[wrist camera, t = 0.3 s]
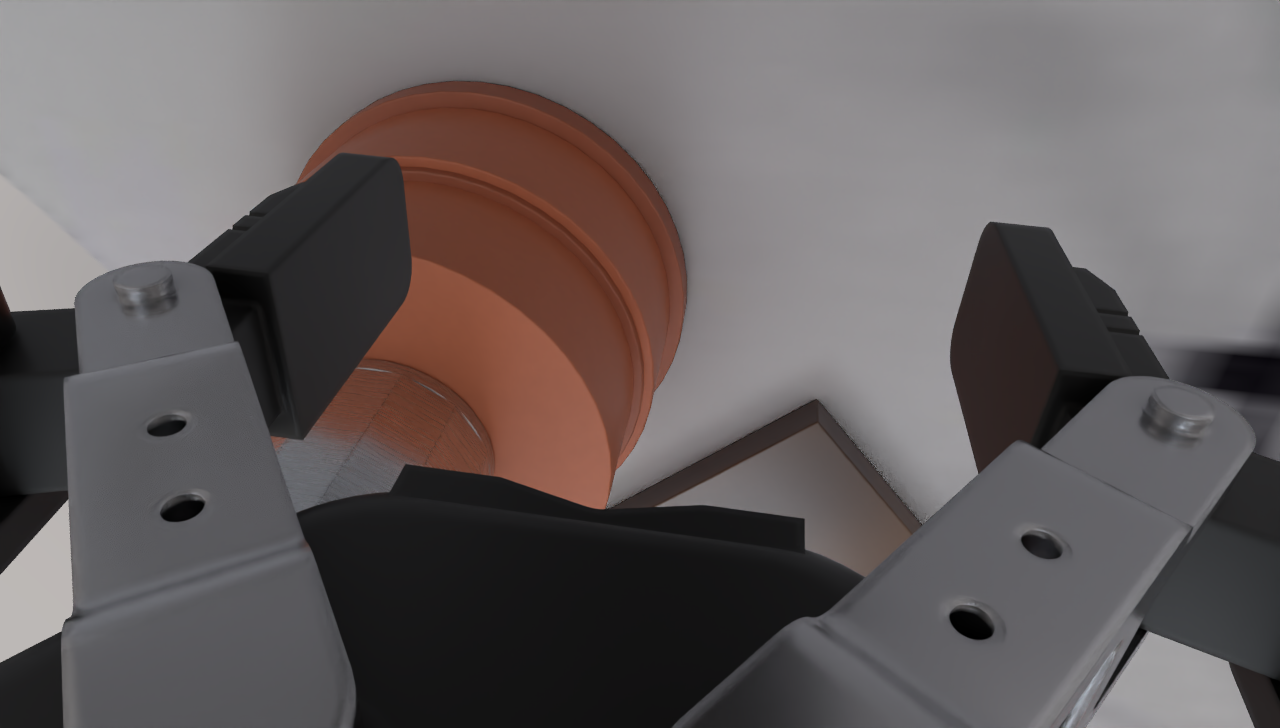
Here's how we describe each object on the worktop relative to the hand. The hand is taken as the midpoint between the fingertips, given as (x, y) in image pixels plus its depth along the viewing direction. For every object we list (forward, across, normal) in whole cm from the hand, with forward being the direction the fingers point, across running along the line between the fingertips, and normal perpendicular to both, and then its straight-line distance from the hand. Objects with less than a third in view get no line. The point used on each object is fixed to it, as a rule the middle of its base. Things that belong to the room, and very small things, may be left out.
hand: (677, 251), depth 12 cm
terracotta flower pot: (+17, +8, +11) cm, 22 cm away
